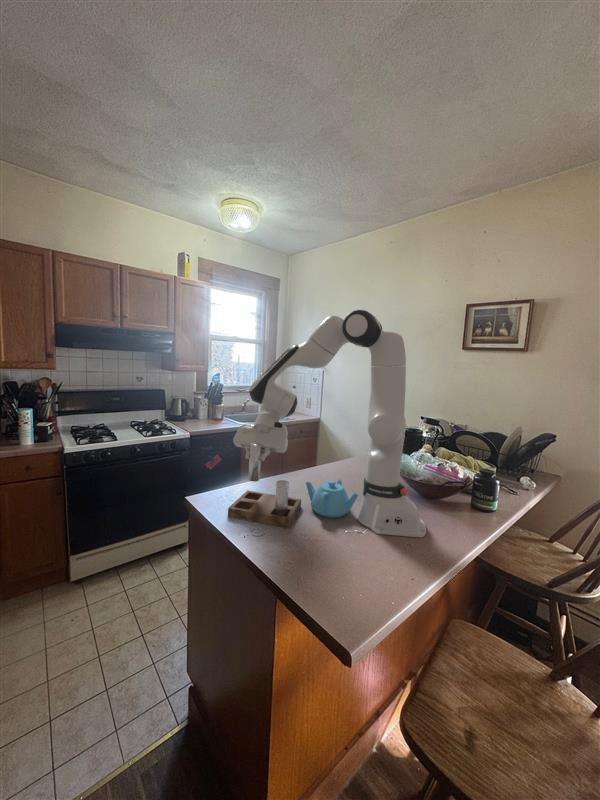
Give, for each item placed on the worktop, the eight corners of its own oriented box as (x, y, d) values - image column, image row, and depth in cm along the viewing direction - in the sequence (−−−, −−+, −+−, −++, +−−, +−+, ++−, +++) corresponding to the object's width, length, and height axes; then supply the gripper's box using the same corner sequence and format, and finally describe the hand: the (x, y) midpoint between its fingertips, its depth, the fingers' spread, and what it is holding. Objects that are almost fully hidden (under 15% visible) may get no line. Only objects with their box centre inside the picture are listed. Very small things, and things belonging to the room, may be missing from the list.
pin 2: (287, 518, 108) (290, 481, 106) (284, 524, 104) (286, 485, 102) (276, 516, 109) (278, 479, 107) (272, 522, 105) (274, 483, 103)
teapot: (303, 502, 121) (304, 475, 120) (339, 499, 126) (341, 473, 125) (317, 522, 107) (319, 491, 106) (357, 518, 111) (360, 488, 110)
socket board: (300, 507, 117) (301, 499, 116) (288, 528, 101) (289, 519, 101) (247, 497, 122) (247, 490, 121) (227, 516, 106) (228, 508, 106)
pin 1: (261, 478, 117) (263, 443, 116) (257, 482, 114) (259, 446, 112) (251, 476, 118) (252, 442, 117) (246, 480, 114) (248, 445, 113)
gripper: (238, 419, 123) (225, 450, 114) (289, 425, 118) (279, 458, 110) (242, 428, 128) (230, 459, 119) (291, 434, 123) (282, 467, 115)
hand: (254, 458), depth 114 cm, fingers closed on pin 1, 4 cm apart
